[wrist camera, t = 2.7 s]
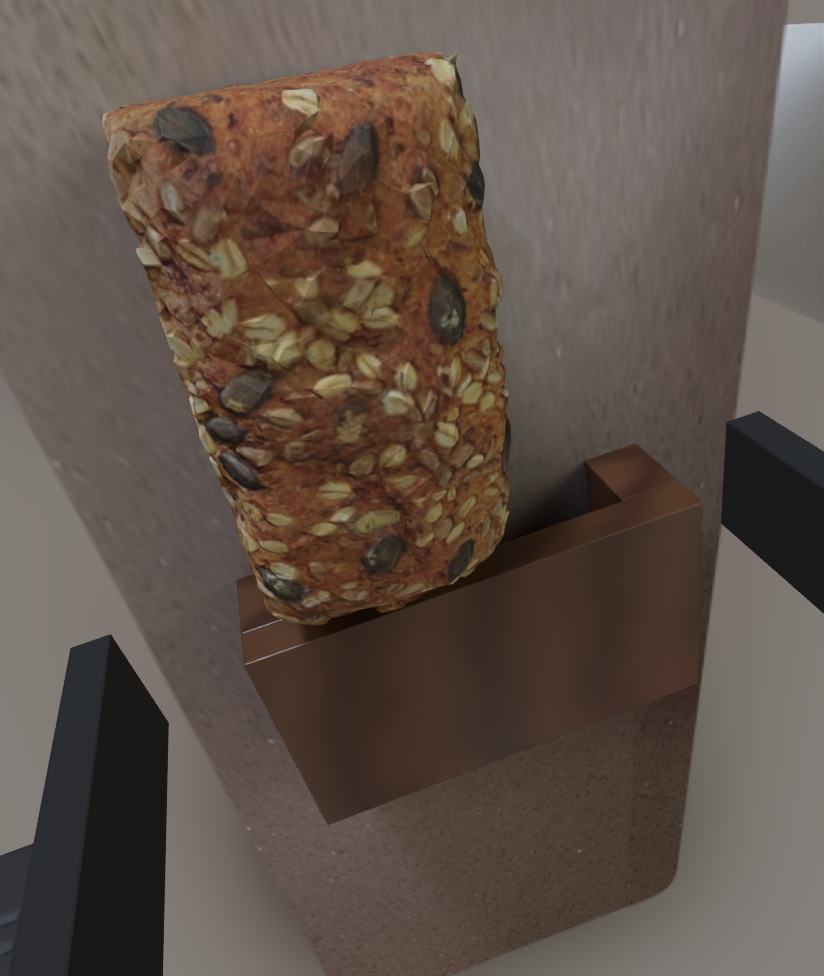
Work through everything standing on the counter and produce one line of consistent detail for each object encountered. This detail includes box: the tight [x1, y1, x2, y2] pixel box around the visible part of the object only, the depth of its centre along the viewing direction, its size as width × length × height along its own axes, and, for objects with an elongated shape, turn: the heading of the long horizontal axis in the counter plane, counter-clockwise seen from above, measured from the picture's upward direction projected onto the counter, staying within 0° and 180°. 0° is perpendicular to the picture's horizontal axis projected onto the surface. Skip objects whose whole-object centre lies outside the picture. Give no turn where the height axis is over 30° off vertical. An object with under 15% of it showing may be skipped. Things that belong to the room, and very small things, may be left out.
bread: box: [102, 52, 511, 625], centre depth 26 cm, size 19×11×10 cm, turn 8°
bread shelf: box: [237, 444, 703, 825], centre depth 38 cm, size 22×13×6 cm, turn 103°
